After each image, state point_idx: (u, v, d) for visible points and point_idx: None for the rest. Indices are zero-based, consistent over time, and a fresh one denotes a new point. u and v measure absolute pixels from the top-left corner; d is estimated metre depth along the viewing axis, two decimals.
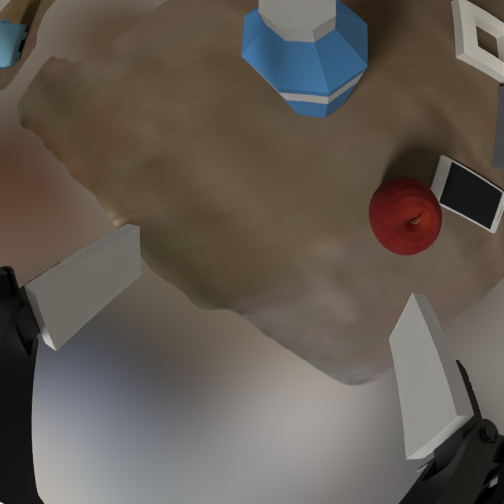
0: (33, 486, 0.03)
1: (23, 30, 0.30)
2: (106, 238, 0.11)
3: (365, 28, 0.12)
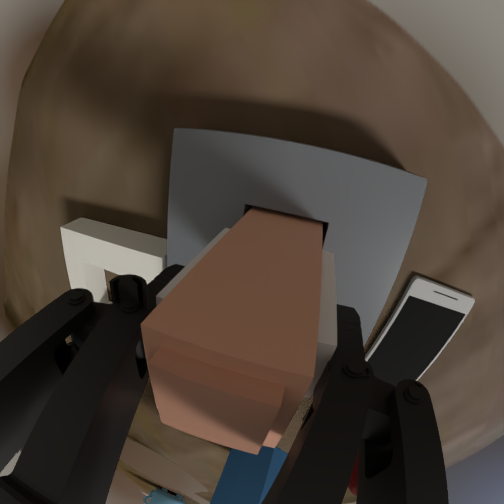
0: None
1: (160, 491, 0.69)
2: (216, 242, 0.12)
3: None
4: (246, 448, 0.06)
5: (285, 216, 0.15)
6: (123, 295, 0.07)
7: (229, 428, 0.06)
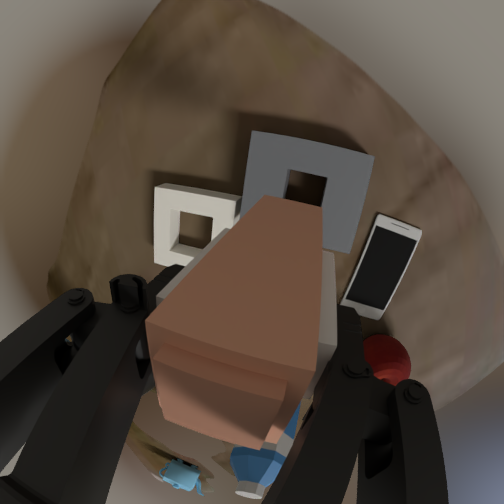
0: None
1: (176, 461, 0.84)
2: (216, 242, 0.12)
3: (251, 457, 0.29)
4: (248, 444, 0.06)
5: (286, 215, 0.15)
6: (123, 295, 0.07)
7: (232, 423, 0.06)
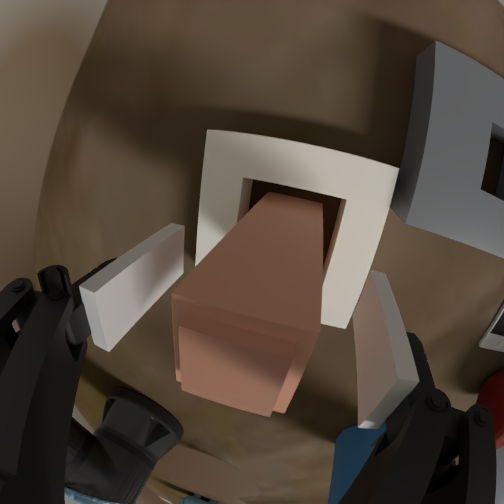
0: (62, 496, 0.03)
1: (193, 498, 0.64)
2: (155, 237, 0.11)
3: None
4: (260, 410, 0.07)
5: (289, 209, 0.16)
6: (50, 284, 0.07)
7: (246, 387, 0.07)
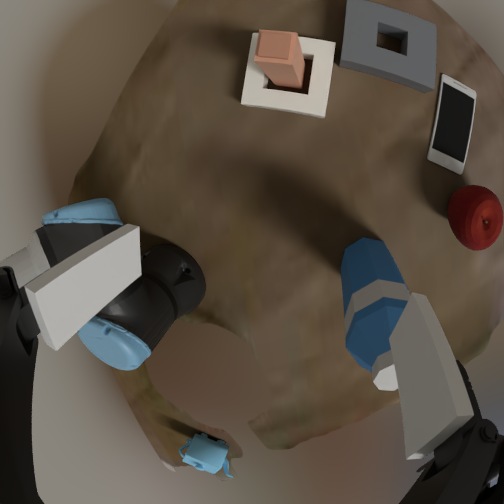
0: (33, 486, 0.03)
1: (200, 436, 0.78)
2: (106, 238, 0.11)
3: (390, 309, 0.24)
4: (284, 55, 0.21)
5: None
6: None
7: (279, 46, 0.21)
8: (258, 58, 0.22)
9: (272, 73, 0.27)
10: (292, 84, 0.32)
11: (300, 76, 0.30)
